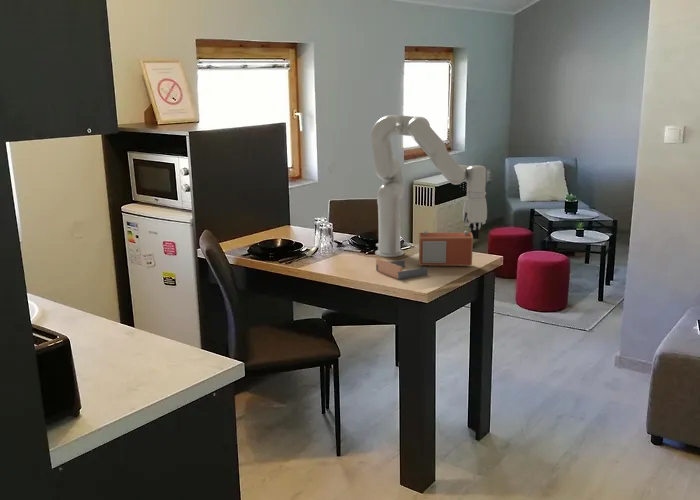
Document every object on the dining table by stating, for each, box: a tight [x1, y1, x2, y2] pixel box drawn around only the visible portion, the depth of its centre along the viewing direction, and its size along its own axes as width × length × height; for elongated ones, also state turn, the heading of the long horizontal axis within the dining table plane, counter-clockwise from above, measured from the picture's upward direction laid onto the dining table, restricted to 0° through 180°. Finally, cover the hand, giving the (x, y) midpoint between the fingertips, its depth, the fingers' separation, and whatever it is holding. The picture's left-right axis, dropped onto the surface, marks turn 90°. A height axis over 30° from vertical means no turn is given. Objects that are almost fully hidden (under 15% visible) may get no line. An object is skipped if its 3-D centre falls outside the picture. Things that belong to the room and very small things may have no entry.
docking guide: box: [375, 258, 428, 281], centre depth 260 cm, size 16×13×5 cm
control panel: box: [418, 230, 474, 266], centre depth 268 cm, size 21×7×15 cm, turn 85°
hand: (474, 238), depth 278 cm, fingers closed
